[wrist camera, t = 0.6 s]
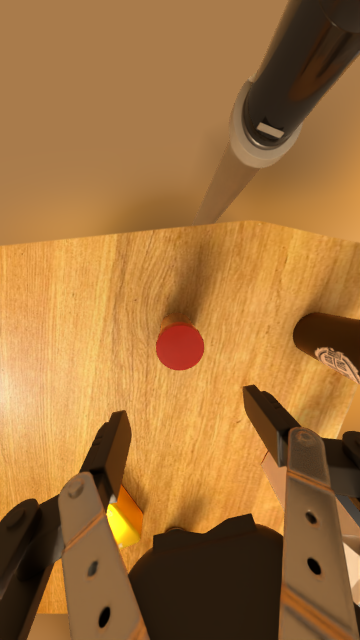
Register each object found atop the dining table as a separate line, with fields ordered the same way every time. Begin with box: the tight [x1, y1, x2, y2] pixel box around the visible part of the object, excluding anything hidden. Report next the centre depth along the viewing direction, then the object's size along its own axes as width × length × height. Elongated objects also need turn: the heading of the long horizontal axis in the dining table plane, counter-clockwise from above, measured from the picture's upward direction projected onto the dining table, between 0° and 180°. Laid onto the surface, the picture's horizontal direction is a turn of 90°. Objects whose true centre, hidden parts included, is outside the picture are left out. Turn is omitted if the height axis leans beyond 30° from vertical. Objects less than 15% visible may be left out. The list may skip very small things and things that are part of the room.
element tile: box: [107, 485, 143, 550], centre depth 40 cm, size 15×15×5 cm
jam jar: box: [160, 313, 193, 332], centre depth 28 cm, size 6×6×10 cm
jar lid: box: [156, 322, 204, 370], centre depth 24 cm, size 6×6×2 cm
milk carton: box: [261, 451, 360, 605], centre depth 33 cm, size 7×7×19 cm
